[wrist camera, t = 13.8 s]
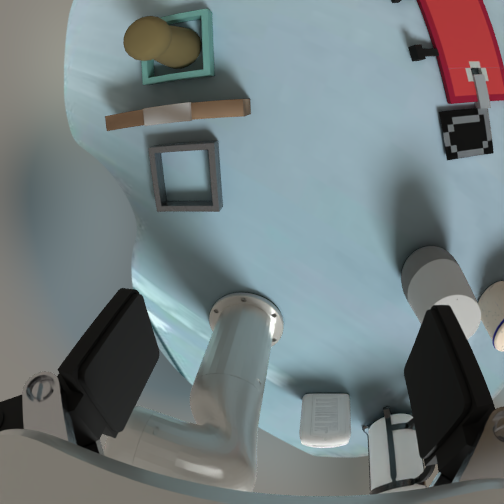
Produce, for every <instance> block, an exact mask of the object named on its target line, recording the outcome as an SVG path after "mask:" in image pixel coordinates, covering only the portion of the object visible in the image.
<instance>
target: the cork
mask: <svg viewBox="0 0 504 504" xmlns="http://www.w3.org/2000/svg"><path fill="white" fill-rule="evenodd" d="M124 48H125V51H126V52H127V53H128V55H130V56H131V57H133V58H134V59H136V60H141V61H148V60H155V61H157V62H159V63H161V64H163V65H166V66H168V67H170V68H174V69H180V68H184V67H187V66H189V65H190V64H192V63H193V62H194V61H195V60H196V59H197V57H198V56H199V54H200V51H201V40H200V37H199V36H198V34H197V33H196V32H195V31H193V30H191V29H189V28H184V27H177V26H171V25H168V24H167V23H166V21H164V20H162V19H161V18H159V17H154V16H147V17H142V18H140V19H138V20H136V21H135V22H134V23H132V24H131V25H130V26H129V28H128V29H127V31H126V33H125V35H124Z"/></svg>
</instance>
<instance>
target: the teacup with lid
mask: <svg viewBox="0 0 504 504" xmlns="http://www.w3.org/2000/svg"><path fill="white" fill-rule="evenodd" d="M478 305H479V307H480V310H481V320H482V322H483V324H484V326H485V328H486V329H487V331H488V333H489V335H490V337H491V339H492V341H493V346H494V347H495V348H496V349H497V350H499V351H504V281H499V282H496V283H494V284H492V285H491V286H490V287H488V288H487V289H486V290H485V292H484V293H483V294H482V296H481V297H480V299H479V302H478Z"/></svg>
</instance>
